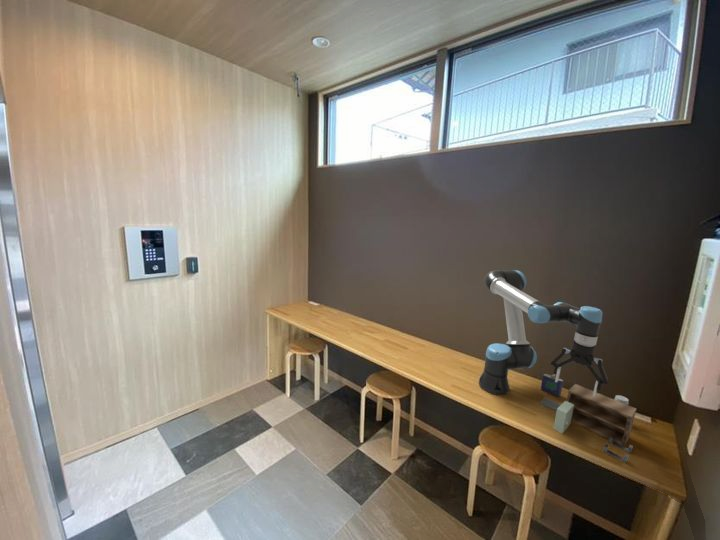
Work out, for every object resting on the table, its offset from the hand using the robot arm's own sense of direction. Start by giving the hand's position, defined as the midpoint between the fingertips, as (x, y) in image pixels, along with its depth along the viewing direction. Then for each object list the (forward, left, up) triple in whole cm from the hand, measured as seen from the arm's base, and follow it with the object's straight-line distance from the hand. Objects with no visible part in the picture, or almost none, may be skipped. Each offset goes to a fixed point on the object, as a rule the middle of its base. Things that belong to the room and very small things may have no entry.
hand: (574, 388), depth 129 cm
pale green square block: (-1, -2, -19) cm, 19 cm away
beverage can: (+13, +24, -19) cm, 33 cm away
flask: (-15, +23, -19) cm, 33 cm away
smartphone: (-7, +12, -20) cm, 24 cm away
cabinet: (+8, +10, -19) cm, 23 cm away
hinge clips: (+18, 0, -19) cm, 26 cm away
